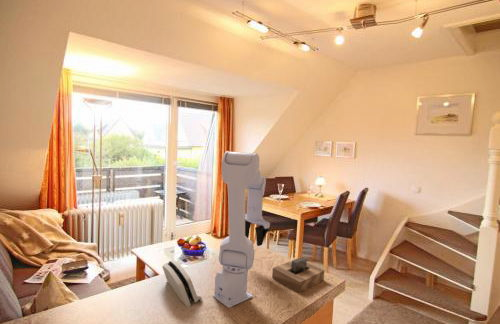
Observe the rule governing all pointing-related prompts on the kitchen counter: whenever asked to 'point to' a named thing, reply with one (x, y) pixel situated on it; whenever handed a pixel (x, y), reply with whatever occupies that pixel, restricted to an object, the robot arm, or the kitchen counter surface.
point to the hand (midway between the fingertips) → (252, 242)
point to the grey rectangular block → (298, 265)
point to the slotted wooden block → (298, 276)
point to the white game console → (181, 282)
